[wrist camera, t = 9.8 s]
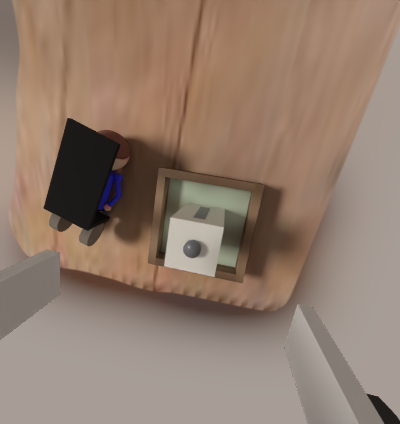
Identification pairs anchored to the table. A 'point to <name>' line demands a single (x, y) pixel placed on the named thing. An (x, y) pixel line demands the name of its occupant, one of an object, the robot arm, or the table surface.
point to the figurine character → (85, 179)
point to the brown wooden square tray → (215, 197)
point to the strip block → (195, 239)
